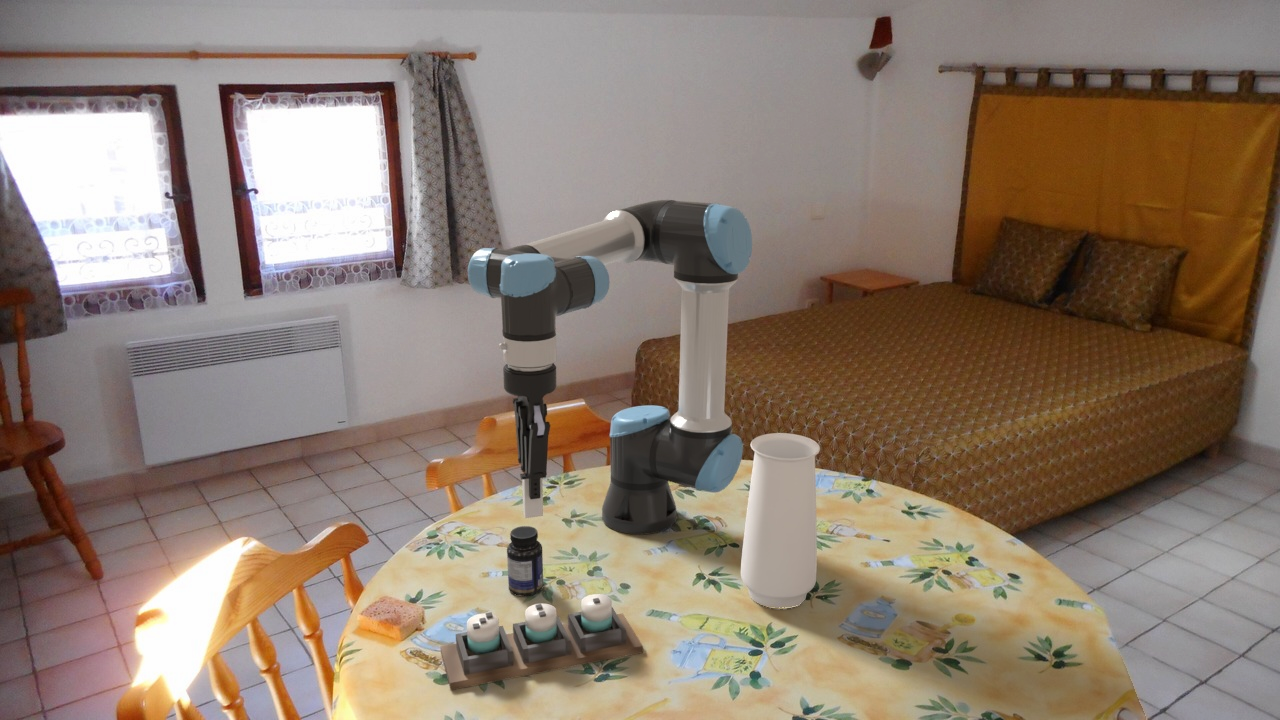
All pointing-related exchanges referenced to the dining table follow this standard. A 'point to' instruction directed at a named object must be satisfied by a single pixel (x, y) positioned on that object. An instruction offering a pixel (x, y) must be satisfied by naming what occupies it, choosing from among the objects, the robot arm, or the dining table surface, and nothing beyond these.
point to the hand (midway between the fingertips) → (533, 514)
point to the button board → (537, 651)
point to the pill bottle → (525, 562)
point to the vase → (781, 521)
